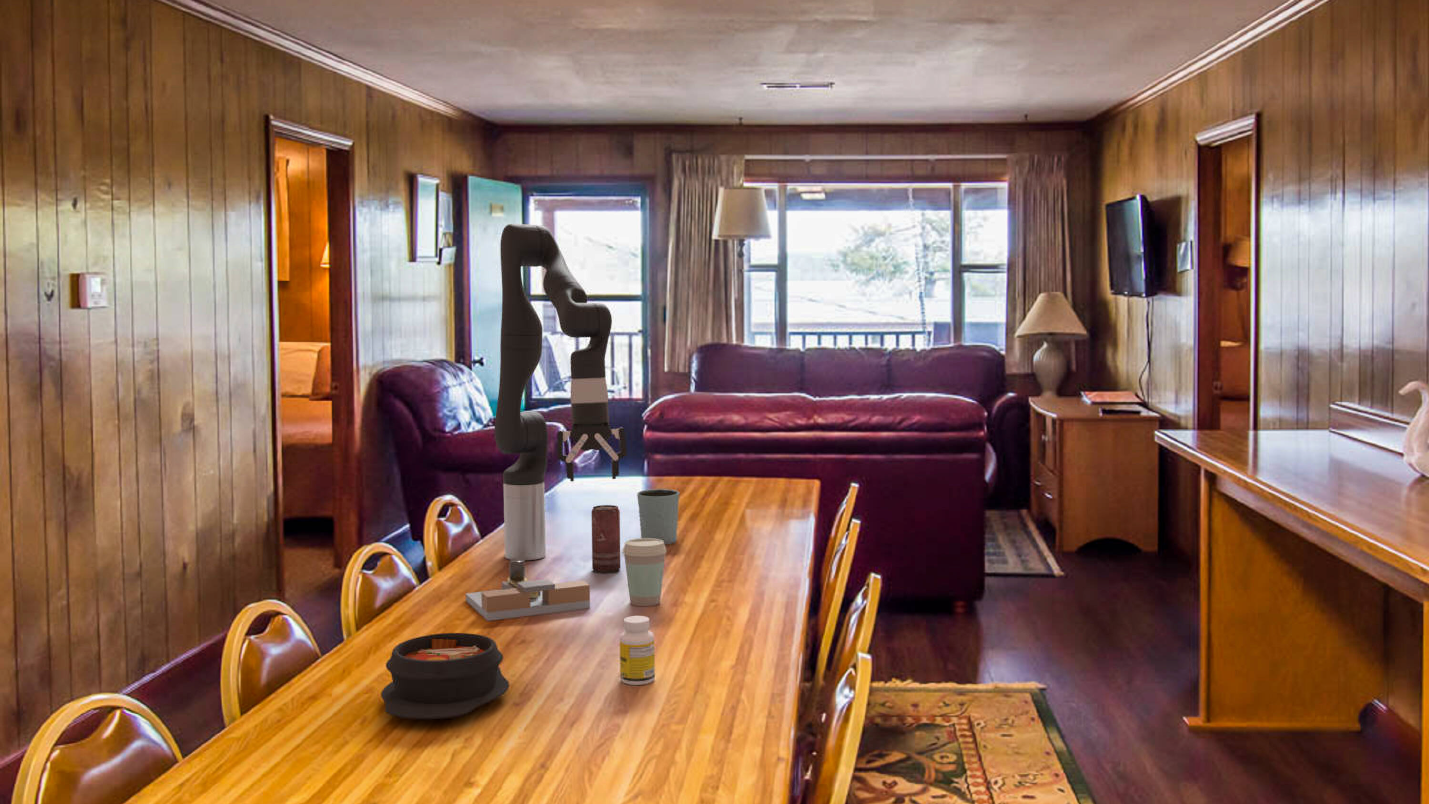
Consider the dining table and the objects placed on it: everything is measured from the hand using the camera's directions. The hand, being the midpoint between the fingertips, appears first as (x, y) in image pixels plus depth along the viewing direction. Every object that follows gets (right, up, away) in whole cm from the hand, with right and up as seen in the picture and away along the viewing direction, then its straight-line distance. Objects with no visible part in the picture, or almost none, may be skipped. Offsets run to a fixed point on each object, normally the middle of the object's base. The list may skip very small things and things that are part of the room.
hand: (593, 479), depth 246 cm
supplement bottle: (+13, -28, -58) cm, 66 cm away
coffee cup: (+11, -23, -11) cm, 28 cm away
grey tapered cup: (+11, -18, +46) cm, 51 cm away
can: (+1, -21, +16) cm, 26 cm away
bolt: (-13, -21, -10) cm, 27 cm away
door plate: (-11, -23, -12) cm, 29 cm away
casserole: (-15, -29, -67) cm, 74 cm away
